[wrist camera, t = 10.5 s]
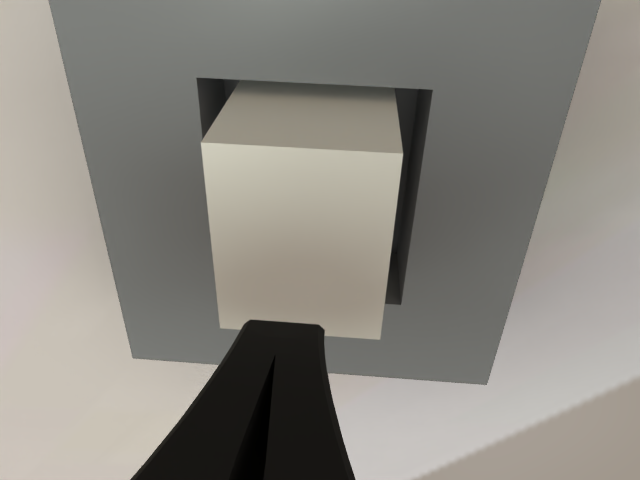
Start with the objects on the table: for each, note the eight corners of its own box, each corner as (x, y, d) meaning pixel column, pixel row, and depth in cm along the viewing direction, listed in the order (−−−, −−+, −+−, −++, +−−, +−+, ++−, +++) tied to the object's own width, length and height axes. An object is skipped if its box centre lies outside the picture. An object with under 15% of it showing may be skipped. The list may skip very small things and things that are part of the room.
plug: (392, 70, 15) (403, 153, 10) (376, 222, 18) (379, 339, 13) (250, 63, 15) (200, 142, 11) (257, 214, 18) (220, 328, 13)
